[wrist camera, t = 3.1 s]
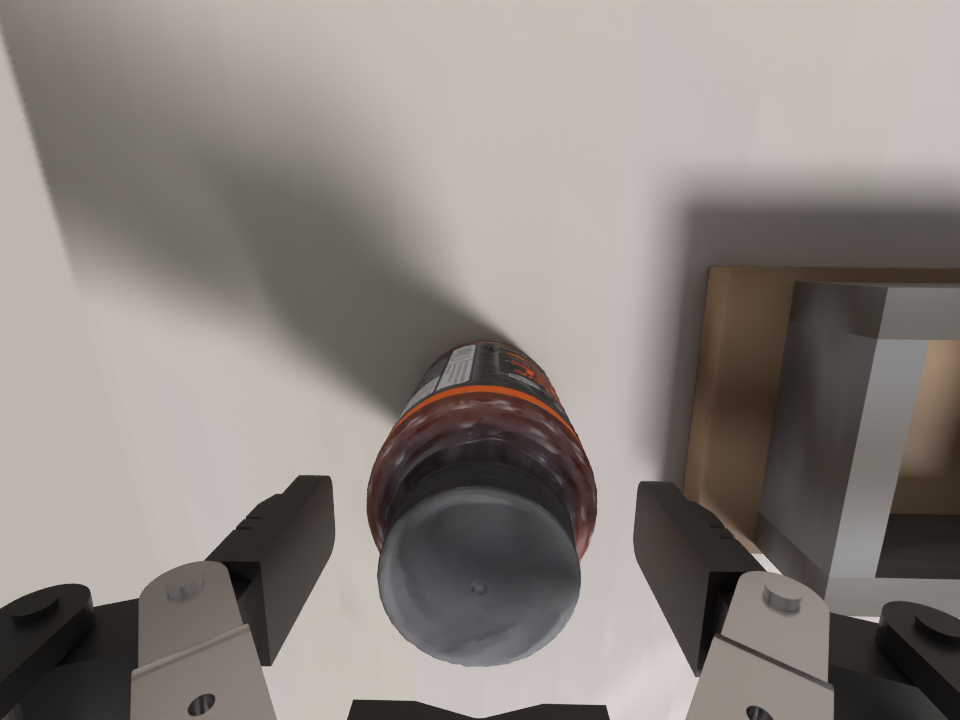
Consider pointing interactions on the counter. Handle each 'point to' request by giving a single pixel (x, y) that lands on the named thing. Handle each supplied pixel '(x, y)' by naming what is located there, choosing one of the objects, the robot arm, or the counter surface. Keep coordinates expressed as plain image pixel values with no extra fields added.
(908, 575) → the socket stand
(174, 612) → the robot arm
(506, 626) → the supplement bottle
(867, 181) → the counter surface
